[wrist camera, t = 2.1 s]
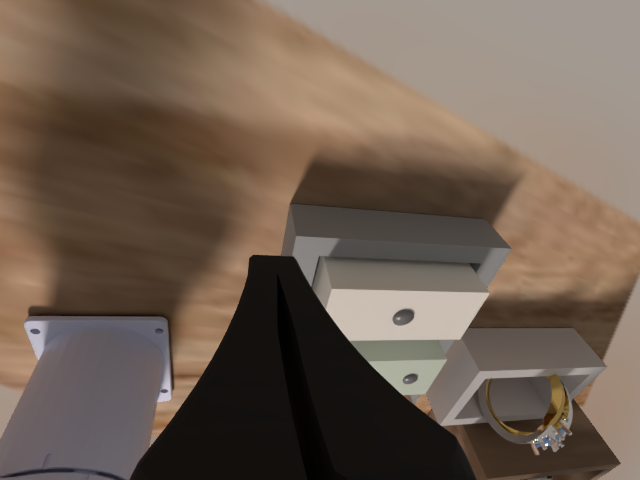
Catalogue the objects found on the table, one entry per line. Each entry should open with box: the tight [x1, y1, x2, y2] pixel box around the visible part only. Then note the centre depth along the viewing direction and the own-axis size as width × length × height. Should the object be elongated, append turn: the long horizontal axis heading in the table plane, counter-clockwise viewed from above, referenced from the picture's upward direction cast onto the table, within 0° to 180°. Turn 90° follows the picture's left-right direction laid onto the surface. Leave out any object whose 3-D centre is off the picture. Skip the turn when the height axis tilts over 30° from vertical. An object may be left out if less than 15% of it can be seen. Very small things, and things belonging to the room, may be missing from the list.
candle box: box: [428, 399, 620, 480], centre depth 39 cm, size 14×14×8 cm
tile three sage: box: [350, 340, 447, 395], centre depth 25 cm, size 4×9×3 cm, turn 78°
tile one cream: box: [312, 256, 490, 341], centre depth 22 cm, size 4×9×3 cm, turn 79°
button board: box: [281, 204, 511, 404], centre depth 27 cm, size 19×13×3 cm, turn 169°
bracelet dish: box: [426, 328, 607, 426], centre depth 33 cm, size 8×12×4 cm, turn 79°
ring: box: [478, 374, 573, 455], centre depth 31 cm, size 7×3×8 cm, turn 134°
